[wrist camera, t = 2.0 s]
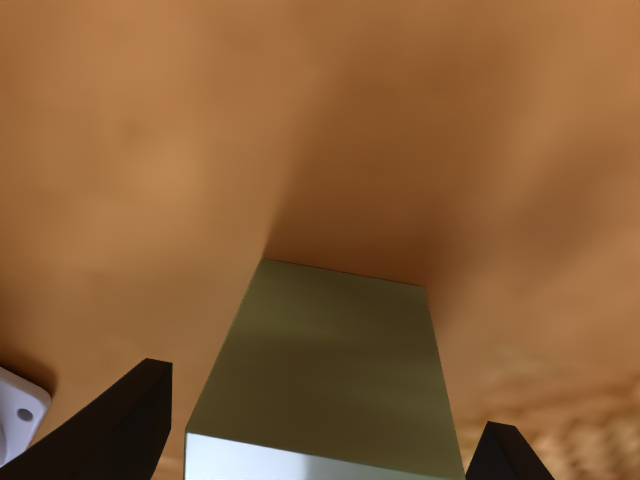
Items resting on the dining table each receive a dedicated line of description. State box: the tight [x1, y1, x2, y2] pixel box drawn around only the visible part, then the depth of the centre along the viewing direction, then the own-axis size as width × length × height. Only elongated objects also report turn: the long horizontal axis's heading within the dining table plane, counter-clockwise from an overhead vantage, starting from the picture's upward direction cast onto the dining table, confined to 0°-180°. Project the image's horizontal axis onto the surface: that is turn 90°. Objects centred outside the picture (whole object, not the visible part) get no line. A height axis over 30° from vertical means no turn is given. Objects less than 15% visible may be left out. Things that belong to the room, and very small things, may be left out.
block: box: [183, 259, 466, 480], centre depth 11 cm, size 4×4×6 cm
